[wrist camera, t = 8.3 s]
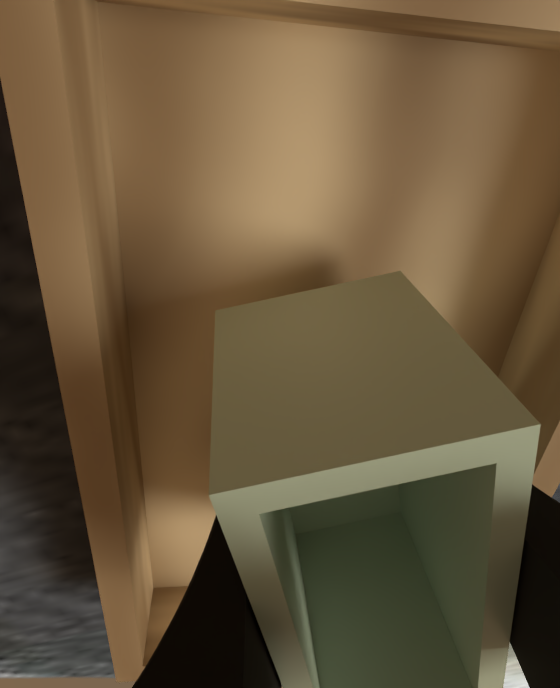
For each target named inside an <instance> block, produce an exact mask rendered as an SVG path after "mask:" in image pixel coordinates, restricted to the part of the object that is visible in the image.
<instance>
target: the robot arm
mask: <svg viewBox="0 0 560 688" xmlns="http://www.w3.org/2000/svg"><path fill="white" fill-rule="evenodd" d="M510 643H511V645H512V648H513V650H514V652H515V654H516V657H517V659H518V661H519V664H520V666H521V668H522V671H523V673H524V675H525V678H526V680H527V682H528V685H529V687H530V688H560V503H559V502H557V501H556V500H554V499H553V498H551V497H550V496H549V495H547V494H546V493H544V492H543V491H541V490H540V489H538V488H537V487H535V486H534V485H533V484H532V489H531V496H530V503H529V510H528V517H527V524H526V531H525V537H524V544H523V551H522V558H521V565H520V572H519V579H518V586H517V593H516V600H515V607H514V614H513V621H512V628H511V635H510ZM132 688H281V681H280V678H279V676H278V673H277V671H276V668H275V666H274V663H273V660H272V658H271V655H270V653H269V650H268V647H267V645H266V642H265V640H264V637H263V634H262V632H261V629H260V627H259V624H258V622H257V619H256V616H255V614H254V611H253V609H252V606H251V603H250V601H249V598H248V596H247V593H246V590H245V588H244V585H243V583H242V580H241V578H240V575H239V572H238V570H237V567H236V565H235V562H234V559H233V557H232V554H231V552H230V549H229V546H228V544H227V541H226V539H225V536H224V534H223V531H222V528H221V526H220V523H219V521H218V518H217V515H216V517H215V520H214V522H213V525H212V528H211V531H210V534H209V537H208V540H207V542H206V545H205V548H204V550H203V552H202V555H201V557H200V560H199V562H198V565H197V567H196V570H195V572H194V574H193V577H192V579H191V581H190V583H189V586H188V588H187V590H186V592H185V594H184V596H183V598H182V600H181V602H180V604H179V606H178V609H177V611H176V613H175V615H174V616H173V618H172V620H171V622H170V624H169V626H168V628H167V629H166V631H165V633H164V635H163V637H162V639H161V640H160V642H159V644H158V646H157V648H156V649H155V651H154V653H153V655H152V656H151V658H150V660H149V661H148V663H147V665H146V666H145V668H144V670H143V671H142V673H141V674H140V676H139V678H138V679H137V681H136V682H135V684H134V685H133V687H132Z"/></svg>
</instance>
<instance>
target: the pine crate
mask: <svg viewBox="0 0 560 688" xmlns="http://www.w3.org/2000/svg"><path fill="white" fill-rule="evenodd" d="M0 79H1V84H2V89H3V94H4V99H5V105H6V110H7V115H8V120H9V125H10V131H11V136H12V141H13V146H14V151H15V157H16V162H17V167H18V172H19V177H20V183H21V188H22V193H23V198H24V203H25V209H26V214H27V219H28V224H29V229H30V235H31V240H32V245H33V250H34V255H35V261H36V266H37V271H38V276H39V281H40V286H41V292H42V297H43V302H44V307H45V312H46V318H47V323H48V328H49V333H50V338H51V344H52V349H53V354H54V359H55V364H56V370H57V375H58V380H59V385H60V390H61V396H62V401H63V406H64V411H65V416H66V422H67V427H68V432H69V437H70V442H71V448H72V453H73V458H74V463H75V468H76V474H77V479H78V484H79V489H80V494H81V500H82V505H83V510H84V515H85V520H86V526H87V531H88V536H89V541H90V546H91V552H92V557H93V562H94V567H95V572H96V578H97V583H98V588H99V593H100V598H101V604H102V609H103V614H104V619H105V624H106V630H107V635H108V640H109V645H110V650H111V656H112V661H113V666H114V671H115V676H116V681H117V682H128V681H137V679H138V678H139V676H140V674H141V673H142V671H143V670H144V668H145V666H146V665H147V663H148V661H149V660H150V658H151V656H152V655H153V653H154V651H155V649H156V648H157V646H158V644H159V642H160V640H161V639H162V637H163V635H164V633H165V631H166V629H167V628H168V626H169V624H170V622H171V620H172V618H173V616H174V615H175V613H176V611H177V609H178V606H179V604H180V602H181V600H182V598H183V596H184V594H185V592H186V590H187V588H188V586H189V583H190V581H191V579H192V577H193V574H194V572H195V570H196V567H197V565H198V562H199V560H200V557H201V555H202V552H203V550H204V548H205V545H206V542H207V540H208V537H209V534H210V531H211V528H212V525H213V522H214V520H215V517H216V513H215V510H214V508H213V505H212V502H211V500H210V497H209V473H210V445H211V417H212V389H213V361H214V333H215V310H219V309H224V308H229V307H233V306H238V305H243V304H247V303H252V302H257V301H261V300H266V299H271V298H275V297H280V296H285V295H289V294H294V293H299V292H303V291H308V290H313V289H317V288H322V287H327V286H331V285H336V284H341V283H345V282H350V281H355V280H359V279H364V278H369V277H373V276H378V275H383V274H387V273H392V272H397V271H401V272H402V273H403V274H404V275H405V276H406V277H407V279H408V280H409V281H410V282H411V283H412V284H413V285H414V286H415V287H416V288H417V289H418V291H419V292H420V293H421V294H422V295H423V296H424V297H425V298H426V299H427V300H428V301H429V303H430V304H431V305H432V306H433V307H434V308H435V309H436V310H437V311H438V312H439V314H440V315H441V316H442V317H443V318H444V319H445V320H446V321H447V322H448V323H449V324H450V326H451V327H452V328H453V329H454V330H455V331H456V332H457V333H458V334H459V335H460V336H461V338H462V339H463V340H464V341H465V342H466V343H467V344H468V345H469V346H470V347H471V348H472V350H473V351H474V352H475V353H476V354H477V355H478V356H479V357H480V358H481V359H482V361H483V362H484V363H485V364H486V365H487V366H488V367H489V368H490V369H491V370H492V371H493V373H494V374H495V375H496V376H497V377H498V378H499V379H500V380H501V381H502V382H503V383H504V385H505V386H506V387H507V388H508V389H509V390H510V391H511V392H512V393H513V394H514V395H515V397H516V398H517V399H518V400H519V401H520V402H521V403H522V404H523V405H524V406H525V407H526V409H527V410H528V411H529V412H530V413H531V414H532V415H533V416H534V417H535V418H536V420H537V421H538V422H539V423H540V424H541V426H540V433H539V440H538V447H537V454H536V461H535V468H534V475H533V482H532V484H533V485H534V486H535V487H537V488H538V489H540V490H541V491H543V492H544V493H546V494H547V495H549V496H550V497H551V498H552V496H553V494H554V492H555V490H556V488H557V487H558V485H559V483H560V0H0Z"/></svg>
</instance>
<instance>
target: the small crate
mask: <svg viewBox="0 0 560 688" xmlns="http://www.w3.org/2000/svg"><path fill="white" fill-rule="evenodd" d="M540 426H541V424H540V423H539V422H538V421H537V420H536V418H535V417H534V416H533V415H532V414H531V413H530V412H529V411H528V410H527V409H526V407H525V406H524V405H523V404H522V403H521V402H520V401H519V400H518V399H517V398H516V397H515V395H514V394H513V393H512V392H511V391H510V390H509V389H508V388H507V387H506V386H505V385H504V383H503V382H502V381H501V380H500V379H499V378H498V377H497V376H496V375H495V374H494V373H493V371H492V370H491V369H490V368H489V367H488V366H487V365H486V364H485V363H484V362H483V361H482V359H481V358H480V357H479V356H478V355H477V354H476V353H475V352H474V351H473V350H472V348H471V347H470V346H469V345H468V344H467V343H466V342H465V341H464V340H463V339H462V338H461V336H460V335H459V334H458V333H457V332H456V331H455V330H454V329H453V328H452V327H451V326H450V324H449V323H448V322H447V321H446V320H445V319H444V318H443V317H442V316H441V315H440V314H439V312H438V311H437V310H436V309H435V308H434V307H433V306H432V305H431V304H430V303H429V301H428V300H427V299H426V298H425V297H424V296H423V295H422V294H421V293H420V292H419V291H418V289H417V288H416V287H415V286H414V285H413V284H412V283H411V282H410V281H409V280H408V279H407V277H406V276H405V275H404V274H403V273H402V272H401V271H397V272H392V273H387V274H383V275H378V276H373V277H369V278H364V279H359V280H355V281H350V282H345V283H341V284H336V285H331V286H327V287H322V288H317V289H313V290H308V291H303V292H299V293H294V294H289V295H285V296H280V297H275V298H271V299H266V300H261V301H257V302H252V303H247V304H243V305H238V306H233V307H229V308H224V309H219V310H215V333H214V361H213V389H212V417H211V445H210V473H209V497H210V500H211V502H212V505H213V508H214V510H215V513H216V515H217V518H218V521H219V523H220V526H221V528H222V531H223V534H224V536H225V539H226V541H227V544H228V546H229V549H230V552H231V554H232V557H233V559H234V562H235V565H236V567H237V570H238V572H239V575H240V578H241V580H242V583H243V585H244V588H245V590H246V593H247V596H248V598H249V601H250V603H251V606H252V609H253V611H254V614H255V616H256V619H257V622H258V624H259V627H260V629H261V632H262V634H263V637H264V640H265V642H266V645H267V647H268V650H269V653H270V655H271V658H272V660H273V663H274V666H275V668H276V671H277V673H278V676H279V678H280V681H281V684H282V686H283V688H503V683H504V677H505V670H506V663H507V656H508V649H509V642H510V635H511V628H512V621H513V614H514V607H515V600H516V593H517V586H518V579H519V572H520V565H521V558H522V551H523V544H524V537H525V531H526V524H527V517H528V510H529V503H530V496H531V489H532V482H533V475H534V468H535V461H536V454H537V447H538V440H539V433H540Z"/></svg>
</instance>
